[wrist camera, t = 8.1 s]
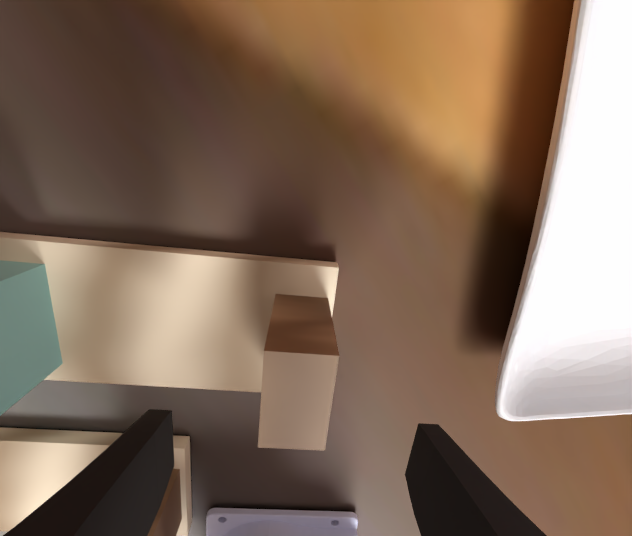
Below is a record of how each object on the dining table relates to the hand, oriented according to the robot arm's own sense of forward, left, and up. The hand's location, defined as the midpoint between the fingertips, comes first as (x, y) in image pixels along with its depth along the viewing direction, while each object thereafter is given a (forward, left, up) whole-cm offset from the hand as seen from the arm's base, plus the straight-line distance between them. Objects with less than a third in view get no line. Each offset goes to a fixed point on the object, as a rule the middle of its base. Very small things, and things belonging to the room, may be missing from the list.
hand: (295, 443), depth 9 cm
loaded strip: (+8, 0, -7) cm, 11 cm away
